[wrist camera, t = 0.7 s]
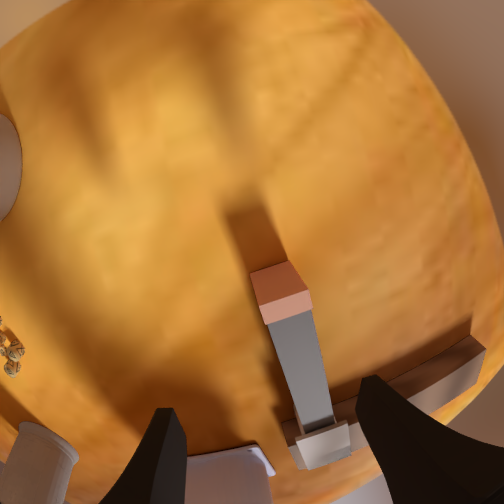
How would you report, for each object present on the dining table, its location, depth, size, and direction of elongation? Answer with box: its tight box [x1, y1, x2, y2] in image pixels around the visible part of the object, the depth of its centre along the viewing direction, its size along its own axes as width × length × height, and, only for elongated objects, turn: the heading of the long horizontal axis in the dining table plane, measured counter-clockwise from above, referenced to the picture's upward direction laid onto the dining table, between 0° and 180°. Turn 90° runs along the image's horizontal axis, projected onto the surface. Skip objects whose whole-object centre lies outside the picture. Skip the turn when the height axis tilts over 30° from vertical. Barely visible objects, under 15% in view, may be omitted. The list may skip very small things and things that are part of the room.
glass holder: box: [0, 421, 79, 504], centre depth 17 cm, size 9×14×15 cm, turn 175°
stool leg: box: [250, 261, 337, 435], centre depth 19 cm, size 15×3×4 cm, turn 17°
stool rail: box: [282, 335, 486, 470], centre depth 22 cm, size 22×10×5 cm, turn 107°
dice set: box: [0, 316, 25, 378], centre depth 18 cm, size 5×5×2 cm
